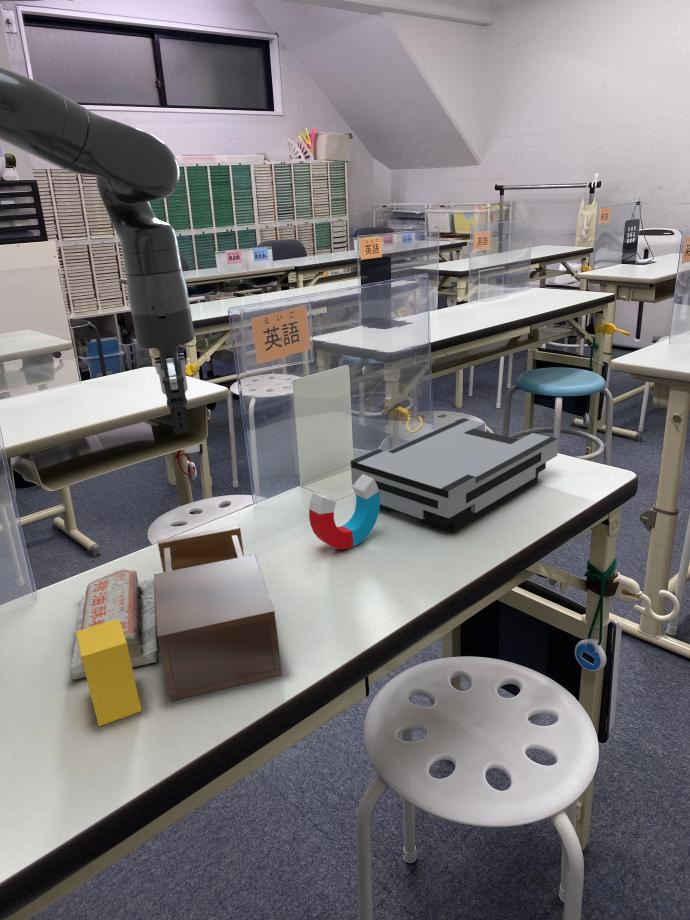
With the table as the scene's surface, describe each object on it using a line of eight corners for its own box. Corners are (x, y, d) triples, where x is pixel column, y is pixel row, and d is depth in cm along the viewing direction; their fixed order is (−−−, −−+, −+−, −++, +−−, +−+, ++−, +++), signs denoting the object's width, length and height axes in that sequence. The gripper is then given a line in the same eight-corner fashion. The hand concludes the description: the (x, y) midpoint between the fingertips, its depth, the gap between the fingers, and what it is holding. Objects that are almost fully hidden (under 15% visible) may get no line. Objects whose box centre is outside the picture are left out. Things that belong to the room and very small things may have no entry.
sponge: (98, 726, 72) (81, 656, 69) (92, 698, 77) (75, 631, 73) (141, 711, 74) (126, 642, 71) (133, 684, 78) (118, 618, 75)
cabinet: (165, 632, 88) (154, 573, 84) (262, 611, 90) (255, 554, 87) (170, 701, 75) (157, 636, 72) (282, 674, 78) (274, 611, 75)
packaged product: (152, 630, 80) (62, 649, 77) (159, 664, 82) (71, 683, 79) (150, 558, 96) (76, 572, 94) (156, 587, 98) (83, 602, 96)
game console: (556, 474, 126) (558, 432, 123) (449, 539, 105) (448, 491, 102) (463, 450, 140) (463, 412, 137) (353, 504, 119) (350, 460, 116)
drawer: (164, 568, 101) (156, 527, 99) (240, 553, 104) (235, 512, 101) (169, 631, 86) (160, 584, 84) (258, 612, 89) (252, 566, 86)
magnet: (371, 528, 110) (368, 471, 107) (382, 534, 108) (379, 476, 105) (312, 554, 104) (306, 494, 100) (322, 560, 102) (317, 500, 98)
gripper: (131, 303, 95) (154, 422, 101) (130, 318, 83) (155, 451, 89) (186, 297, 96) (205, 414, 103) (192, 311, 84) (213, 442, 91)
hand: (182, 431), depth 96 cm, fingers closed
